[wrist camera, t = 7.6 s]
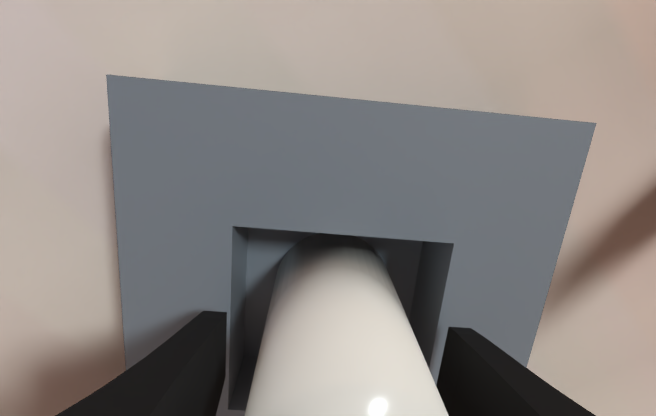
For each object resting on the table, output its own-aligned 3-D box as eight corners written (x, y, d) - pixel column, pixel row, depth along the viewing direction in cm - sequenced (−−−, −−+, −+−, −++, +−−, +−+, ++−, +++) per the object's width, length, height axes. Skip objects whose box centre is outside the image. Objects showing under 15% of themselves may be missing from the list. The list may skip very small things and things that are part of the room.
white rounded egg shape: (274, 331, 14) (233, 560, 7) (276, 229, 12) (230, 379, 6) (382, 335, 14) (445, 560, 7) (393, 234, 13) (483, 386, 6)
